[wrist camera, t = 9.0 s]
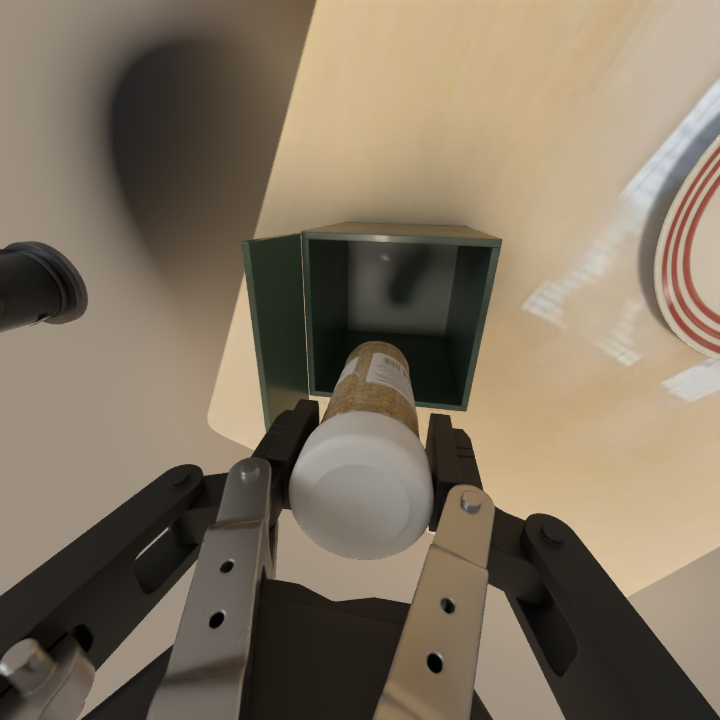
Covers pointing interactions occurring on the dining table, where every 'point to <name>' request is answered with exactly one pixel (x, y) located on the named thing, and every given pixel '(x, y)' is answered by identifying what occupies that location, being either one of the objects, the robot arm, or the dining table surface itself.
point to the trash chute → (399, 302)
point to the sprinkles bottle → (365, 462)
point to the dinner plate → (693, 257)
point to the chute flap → (277, 320)
